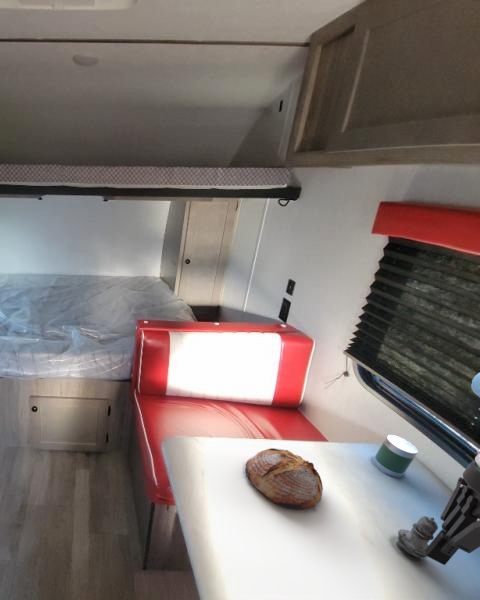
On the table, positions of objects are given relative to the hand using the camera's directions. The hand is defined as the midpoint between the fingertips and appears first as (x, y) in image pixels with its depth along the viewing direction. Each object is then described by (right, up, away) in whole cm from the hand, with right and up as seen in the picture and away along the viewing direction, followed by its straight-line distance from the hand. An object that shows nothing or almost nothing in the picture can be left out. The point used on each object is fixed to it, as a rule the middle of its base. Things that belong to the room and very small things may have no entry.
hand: (434, 557), depth 69 cm
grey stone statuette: (+4, -6, +10) cm, 12 cm away
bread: (-18, +2, +24) cm, 30 cm away
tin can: (+21, +2, +33) cm, 39 cm away
